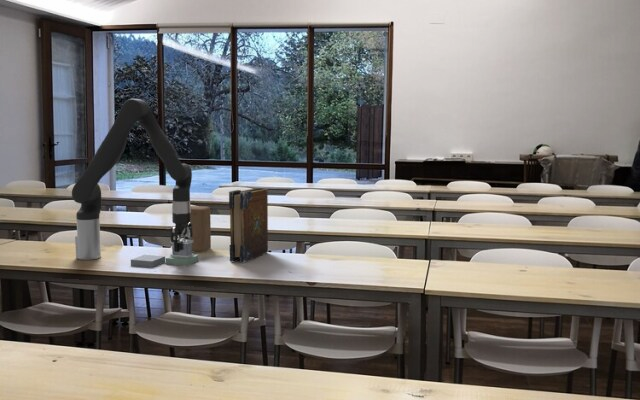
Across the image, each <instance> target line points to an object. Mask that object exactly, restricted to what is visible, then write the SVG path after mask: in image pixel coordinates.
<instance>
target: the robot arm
mask: <svg viewBox="0 0 640 400" xmlns="http://www.w3.org/2000/svg"><path fill="white" fill-rule="evenodd" d="M137 122H138V124H139V125H141V126H142V127H143V129H144V130H145V132H146V134H147V135H148V138H149V141H150V143H151V146H152V148H153V150H154V151H155V153H156V154H157V156H158V157H159V158H160V160H161V161H162V163H163V165H164V168H165V170H166V171H167V173H168V176H170V178H171V179H172V180H173V181H175V186H174V187H173V189H172V205H171V210H172V212H171V213H172V215H171V216H172V218H171V219H172V223H173V224H175V225H174V227H171V228H170V241H171V242H173V243H174V251H175V252H179V251H180V243H179V242H180V239H183V236H184V239H190V238H191V237H192V236H193V232H192V223H190V222H191V206H192V205H191V191H190V190H191V185H192V178H193V171H192V168H191V166H190V165H188V164H187V163H184V162H183V163H182V162H181V161H180V160H179V158H178V157H179V154H178V152H177V150H176V148H175V147H174V146H173V144H172V143H171V141H170V140H169V139H168V137H167V136H166V135H165V133H164V131H163V130H162V128H161V126H160V124H159V123H158V121H157V118H156V117H155V115H154V113H153V111H152V109H151V107H150V106H149V104H148V102H146V100H143V99H141V98H130V99H127V100H125V101H124V102H123V104H122V105H121V108H120V109H119V112H118V113H117V116H116V118H115V121H114V122H113V124H112V125H111V127H110V129H109V131H108V132H107V134H106V135H105V137H104V139H103V140H102V142H101V144H100V145H99V146H98V148H97V150H96V152H95V154H94V155H93V157H92V159H91V160H90V162H89V163H88V165H87V168H86V169H85V171H84V172H83V173H82V175H81V176H79V177H80V178H79V179H78V180H77V181H76V183H75V184H74V185H73V188H72V190H71V197H72V200H73V201H74V202H76V203H77V204H80V208H79V209H78V210H77V212H76V214H75V215H76V216H75V217H76V236H75V237H74V239H75V241H74V242H75V259H78V260H80V261H81V260H82V261H83V260H84V261H85V260H87V261H90V260H97V259H100V258H101V257H102V254H101V253H102V251H101V227H100V226H101V225H100V223H101V221H100V216H101V215H100V214H101V212H102V190H101V187H100V185H99V182H100V180H101V179H102V178H103V177H105V176H106V175H107V174H108V173H109V172H110V171H111V170H112V168H114V167H115V166H116V164H118V162H119V160H120V158H121V157H122V155H123V153H124V151H125V149H126V145H127V140H128V139H127V138H128V135H129V134H130V132H131V130H132V129H133V127H134V126H135V125H136V123H137ZM189 231H190V232H189ZM177 239H178V240H177Z"/></svg>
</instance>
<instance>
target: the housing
mask: <svg viewBox="0 0 640 400" xmlns="http://www.w3.org/2000/svg"><path fill="white" fill-rule="evenodd" d="M177 240H178V238H177ZM192 242H193V240H191V239H183V238H181V239H180V242H179V243H180V251H179V252H175V251H174V243H173V242H171V240H170V244H171V251H172V252H171V253H172V254H171V253H170V256H171V257H177V258H190V257H192V256H194V255H195V254H194V253H193V252H192Z"/></svg>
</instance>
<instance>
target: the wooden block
mask: <svg viewBox="0 0 640 400" xmlns="http://www.w3.org/2000/svg"><path fill="white" fill-rule="evenodd" d="M211 222H212V221H211V207H210V206H203V205H202V206H201V205H191V222H190V223H192V232H193V236H192V237H191V238H190V239H191V240H193V242H192V253H194V252H195V253H204V252H206V251H208V250H210V249H211V247H212V246H211V245H212V244H211V243H212V241H211V240H212V239H211V238H212V236H211V235H212V234H211V233H212V232H211V230H212V229H211V224H212V223H211ZM189 232H190V231H189ZM182 239H184V236H182Z"/></svg>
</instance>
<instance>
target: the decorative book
mask: <svg viewBox="0 0 640 400" xmlns="http://www.w3.org/2000/svg"><path fill="white" fill-rule="evenodd" d="M268 194H269V189H268V188H262V187H260V188H258V187H256V188H250V189H245V190H241V189H235V190H229V191H228V208H229V213H230V214H229V221H230V222H229V225H230V227H229V231H230V232H229V233H230V234H229V235H230V244H229V262H230V261H234V262H237V261H239V260H240V263H241V262H242V263H241V264H245V263H248V262H251V261H252V260H253V259H254V258H257V257H260V256H263V255H265V254H268V253H269V249H268V248H269V245H268V243H269V241H268V239H269V235H268V234H269V232H268V231H269V230H268V229H269V227H268V226H269V224H268V223H269V222H268V220H269V217H268V215H269V213H268V207H269V206H268V202H269V201H268V200H269V199H268V197H269V195H268ZM238 259H239V260H238ZM236 260H237V261H236ZM247 261H248V262H247Z"/></svg>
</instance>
